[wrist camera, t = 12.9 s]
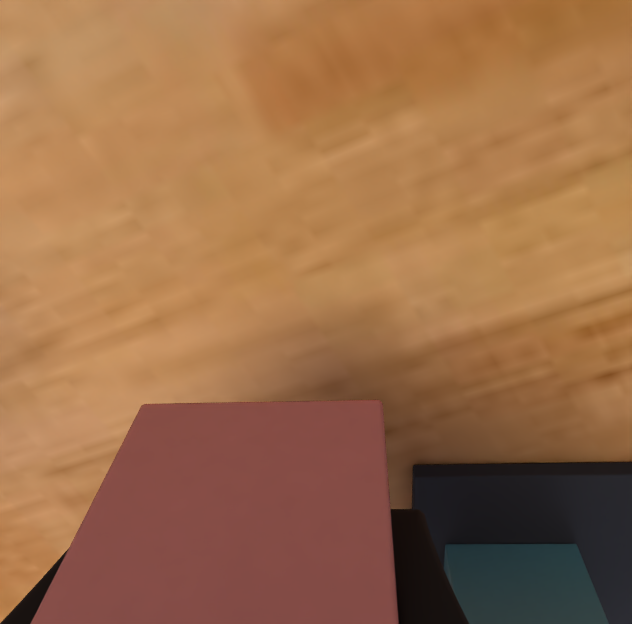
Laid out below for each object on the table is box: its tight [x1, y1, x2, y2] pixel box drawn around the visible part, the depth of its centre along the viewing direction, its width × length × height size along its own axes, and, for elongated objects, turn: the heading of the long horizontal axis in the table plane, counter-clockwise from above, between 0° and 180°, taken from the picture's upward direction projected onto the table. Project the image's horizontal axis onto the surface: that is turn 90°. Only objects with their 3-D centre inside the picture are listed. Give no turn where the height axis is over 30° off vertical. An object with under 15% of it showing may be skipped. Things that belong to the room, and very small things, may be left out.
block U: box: [31, 400, 399, 624], centre depth 10 cm, size 5×5×5 cm
